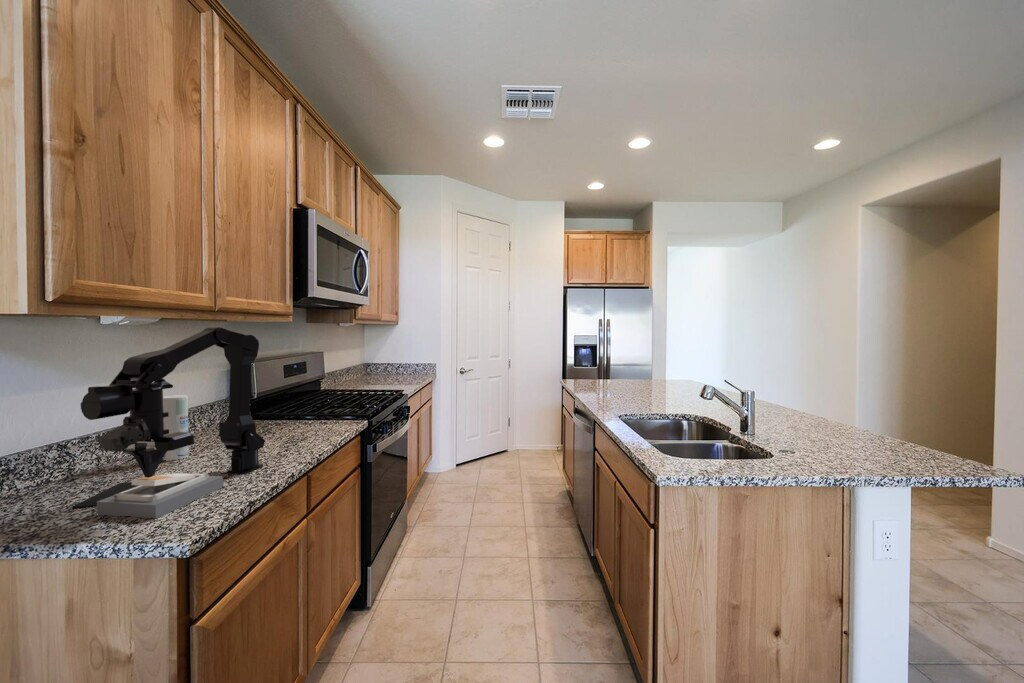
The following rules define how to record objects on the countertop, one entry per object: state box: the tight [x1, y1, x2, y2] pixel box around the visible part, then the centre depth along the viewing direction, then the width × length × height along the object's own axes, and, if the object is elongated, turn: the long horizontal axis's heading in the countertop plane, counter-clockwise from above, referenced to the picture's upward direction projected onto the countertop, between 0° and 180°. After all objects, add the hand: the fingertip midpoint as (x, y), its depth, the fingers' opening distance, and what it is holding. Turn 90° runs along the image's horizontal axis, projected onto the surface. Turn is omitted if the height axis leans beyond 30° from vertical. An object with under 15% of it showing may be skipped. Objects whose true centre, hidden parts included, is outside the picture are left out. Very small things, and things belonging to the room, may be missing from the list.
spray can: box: [163, 394, 190, 462], centre depth 126 cm, size 6×6×20 cm
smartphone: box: [71, 481, 140, 510], centre depth 98 cm, size 7×1×15 cm
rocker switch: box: [131, 472, 196, 486], centre depth 95 cm, size 10×6×1 cm, turn 172°
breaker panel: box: [96, 472, 224, 520], centre depth 95 cm, size 17×15×4 cm
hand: (149, 476), depth 91 cm, fingers closed
